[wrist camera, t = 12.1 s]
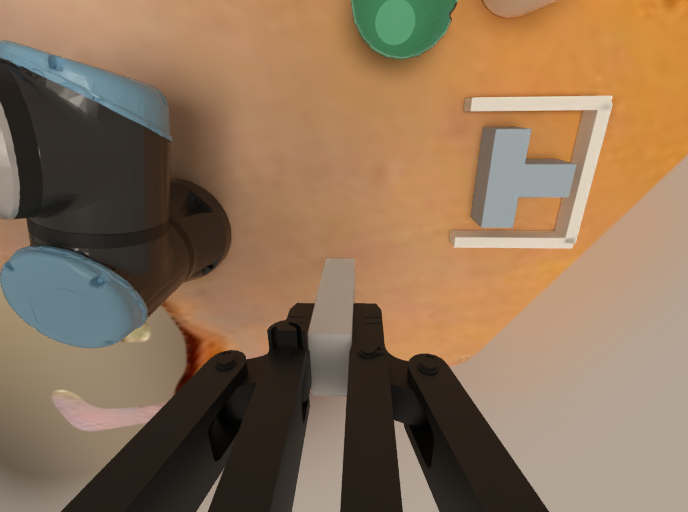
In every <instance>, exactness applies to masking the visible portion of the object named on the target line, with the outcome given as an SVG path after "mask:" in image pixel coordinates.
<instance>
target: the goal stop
mask: <svg viewBox="0 0 688 512" xmlns="http://www.w3.org/2000/svg"><path fill="white" fill-rule="evenodd" d="M612 97H613V96H554V97H474V98H465V105H464V111H546V110H583V112H582V116H581V121H580V125H579V129H578V133H577V137H576V142H575V146H574V150H573V154H572V158H571V163H574V164H577V165H576V169H575V173H574V177H573V181H572V185H571V189H570V193H569V197H562V200H561V205H560V209H559V213H558V217H557V221H556V226H555V230H554V231H488V230H450V235H449V241H450V242H451V244H452V245H453V247H463V248H573V244H574V243H576V240H577V236H578V232H579V229H580V225H581V221H582V217H583V214H584V210H585V206H586V202H587V199H588V195H589V191H590V187H591V184H592V180H593V176H594V172H595V169H596V165H597V161H598V157H599V154H600V150H601V146H602V142H603V139H604V135H605V131H606V127H607V124H608V120H609V116H610V113H611V109H612V105H613V103H611V100H612Z"/></svg>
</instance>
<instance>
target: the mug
mask: <svg viewBox="0 0 688 512" xmlns="http://www.w3.org/2000/svg"><path fill="white" fill-rule="evenodd" d="M457 2H458V0H351V5H352V12H353V18H354V23H355V25H356V27H357V29H358V31H359V33H360V36H361V38H362V39H363V40H364V41H365V42H366V43H367V45H368V46H369V47H370V48H371V49H372V50H373V51H375V52H377V53H378V54H380V55H382V56H384V57H386V58H391V59H399V60H404V59H408V58H412V57H417V56H419V55H421V54H422V53H424V52H426V51H427V50H429V49H431V48H432V47H433V46H434V45H435V44H436V43H437V42H438V41H439V40H440V39H441V37H442V36H443V35H444V34H445V33H446V31H447V29H448V27H449V25H450V23H451V20H452V18H451V16H450V14H451V13H452V11H453V10H454V9H455V7H456V5H457Z"/></svg>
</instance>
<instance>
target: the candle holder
mask: <svg viewBox="0 0 688 512" xmlns="http://www.w3.org/2000/svg"><path fill="white" fill-rule="evenodd" d="M557 1H559V0H483V2H484V4H485V6H486V7H487V8H488V9H489V10H490V11H491V12H492V13H494V14H495V15H497V16H500V17H504V18H515V17H520V16H523V15H526V14H528V13H531V12H533V11H536V10H538V9H540V8H543V7H545V6H547V5H550V4H552V3H555V2H557Z"/></svg>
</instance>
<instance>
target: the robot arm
mask: <svg viewBox="0 0 688 512" xmlns="http://www.w3.org/2000/svg"><path fill="white" fill-rule="evenodd" d="M172 141H173V138H172V136H171V135H170V119H169V105H168V102H167V100H166V98H165V96H164V95H163V94H162V93H161V92H160V91H159V90H158V89H157V88H155V87H154V86H152V85H149V84H146V83H143V82H140V81H137V80H134V79H131V78H128V77H125V76H122V75H118V74H115V73H112V72H109V71H106V70H103V69H99V68H96V67H93V66H89V65H86V64H83V63H80V62H76V61H73V60H70V59H66V58H62V57H60V56H56V55H53V54H50V53H46V52H43V51H40V50H37V49H34V48H31V47H27V46H24V45H21V44H17V43H14V42H10V41H1V42H0V218H1V219H5V220H11V219H20V218H26V219H27V225H28V232H29V238H30V246H28V247H25V248H22V249H19V250H17V251H16V252H15V253H14V254H13V256H12V257H11V258H10V260H9V261H7V262H6V263H5V264H4V265H3V268H2V270H1V274H0V283H1V288H2V291H3V294H4V296H5V298H6V300H7V301H8V303H9V305H10V306H11V307H12V309H13V310H14V311H15V312H16V313H17V315H18V316H19V317H20V318H22V319H23V320H24V321H25V322H26V323H27V324H28V325H30V326H32V327H34V328H35V329H36V330H37V331H39V332H40V333H42V334H43V335H45V336H47V337H49V338H51V339H53V340H56V341H58V342H61V343H64V344H67V345H71V346H75V347H83V348H100V347H106V346H109V345H113V344H115V343H117V342H119V341H121V340H122V339H124V338H125V337H126V336H128V335H129V334H130V333H131V332H132V331H134V330H135V329H137V328H139V327H141V326H142V325H143V324H144V323H145V321H146V320H147V318H148V317H149V316H150V315H151V314H152V313H153V312H154V311H155V310H156V309H157V308H158V307H159V306H160V305H161V304H162V303H163V302H164V301H165V300H166V299H167V298H168V297H169V296H170V295H171V294H172V293H173V292H174V291H175V290H176V289H177V288H178V287H179V286H180V285H181V284H182V283H184V282H187V281H191V280H194V279H197V278H200V277H203V276H205V275H207V274H208V273H210V272H211V271H213V270H214V269H215V268H216V267H217V266H218V265H219V264H220V263H221V262H222V261H223V259H224V258H225V256H226V254H227V253H228V250H229V247H230V242H231V230H230V225H229V221H228V218H227V216H226V214H225V212H224V210H223V208H222V207H221V205H220V204H219V203H218V201H217V200H216V199H215V198H214V197H213V196H212V195H211V194H210V193H208V192H207V191H206V190H204V189H203V188H201V187H199V186H198V185H196V184H193V183H191V182H188V181H185V180H180V179H170V142H172ZM267 332H268V341H269V352H268V354H266V355H264V356H260V357H257V358H252V359H247V360H246V356H245V355H244V354H243V353H242V352H239V351H235V350H229V351H224V352H221V353H218V354H216V355H214V356H213V357H212V358H210V359H209V360H208V361H207V362H206V363H205V364H204V365H203V366H202V367H201V369H200V370H199V371H198V372H197V373H196V374H195V375H194V376H193V377H192V378H191V379H190V380H189V381H188V382H187V383H186V384H185V385H184V386H183V387H182V388H181V389H180V390H179V391H178V392H177V393H176V394H175V395H174V396H173V397H172V398H171V399H170V400H169V401H168V402H167V403H166V404H165V405H164V406H163V407H162V408H161V410H160V411H159V412H158V413H157V414H156V415H155V416H154V417H153V418H152V419H151V420H150V421H149V422H148V423H147V424H146V425H145V426H144V427H143V428H142V429H141V430H140V431H139V432H138V433H137V434H136V435H135V436H134V437H133V438H132V439H131V440H130V441H129V442H128V443H127V444H126V445H125V446H124V448H122V450H121V451H120V452H119V453H118V454H117V455H116V456H115V457H114V458H113V459H112V460H111V461H110V462H109V463H108V464H107V465H106V466H105V467H104V468H103V469H102V470H101V471H100V472H99V473H98V474H97V475H96V476H95V477H94V478H93V479H92V480H91V481H90V482H89V483H88V484H87V485H86V486H85V487H84V489H82V490H81V492H80V493H79V494H78V495H77V496H76V497H75V498H74V499H73V500H72V501H71V502H70V503H69V504H68V505H67V506H66V507H65V508H64V509H63V510H62V511H61V512H196V511H197V509H198V508H199V506H200V505H201V503H202V502H203V500H204V498H205V497H206V495H207V494H208V492H209V491H210V489H211V488H212V486H213V485H214V483H215V481H216V480H217V478H218V477H219V475H220V474H221V472H222V471H223V473H222V476H221V479H220V481H219V484H218V486H217V489H216V491H215V494H214V497H213V499H212V502H211V505H210V507H209V510H208V512H292V507H293V501H294V495H295V489H296V483H297V478H298V472H299V466H300V460H301V454H302V448H303V443H304V437H305V431H306V425H307V420H308V414H309V408H310V403H309V402H310V401H309V394H310V388H311V395H334V396H347V403H346V421H345V438H344V458H343V474H342V491H341V510H340V512H403V510H402V499H401V490H400V480H399V469H398V459H397V449H396V440H395V439H396V438H395V429H394V420H396V421H399V422H402V423H404V427H405V430H406V432H407V435H408V437H409V439H410V442H411V444H412V447H413V449H414V452H415V454H416V456H417V459H418V461H419V464H420V466H421V468H422V471H423V473H424V475H425V478H426V480H427V483H428V485H429V488H430V490H431V492H432V495H433V497H434V499H435V502H436V504H437V507H438V509H439V511H440V512H549V511H548V510H547V508H546V507H545V505H544V504H543V502H542V501H541V499H540V498H539V496H538V495H537V494H536V492H535V491H534V489H533V488H532V486H531V485H530V483H529V482H528V481H527V479H526V478H525V476H524V475H523V473H522V472H521V470H520V469H519V468H518V466H517V465H516V463H515V462H514V460H513V459H512V457H511V456H510V454H509V453H508V452H507V450H506V449H505V447H504V446H503V445H502V443H501V441H500V440H499V439H498V437H497V436H496V434H495V433H494V431H493V430H492V429H491V427H490V425H489V424H488V423H487V421H486V420H485V418H484V417H483V415H482V414H481V413H480V411H479V410H478V408H477V407H476V405H475V404H474V402H473V401H472V399H471V398H470V397H469V395H468V394H467V392H466V391H465V389H464V388H463V386H462V385H461V383H460V382H459V381H458V379H457V378H456V376H455V375H454V373H453V372H452V371H451V369H450V368H449V366H448V365H447V363H446V362H445V361H444V360H443V359H441V358H439V357H437V356H435V355H431V354H418V355H415V356H413V357H412V358H411V359H410V360H409V361H405V360H401V359H398V358H396V357H394V356H392V355H391V354H390V353H388V351H387V350H386V348H385V344H384V334H383V324H382V313H381V309H380V308H379V307H378V306H377V304H365V303H355V259H354V258H326V260H325V264H324V269H323V273H322V277H321V281H320V285H319V289H318V293H317V297H316V302H315V304H314V303H297V304H295V305H294V306H293V307H292V308H291V309H290V311H289V314H288V317H287V319H286V320H284V321H280V322H277V323H275V324H273V325H271V326H270V327H269V329H268V330H267ZM224 467H225V468H224ZM223 469H224V470H223Z"/></svg>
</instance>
